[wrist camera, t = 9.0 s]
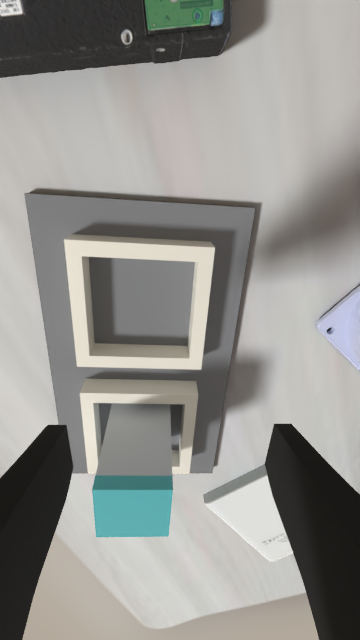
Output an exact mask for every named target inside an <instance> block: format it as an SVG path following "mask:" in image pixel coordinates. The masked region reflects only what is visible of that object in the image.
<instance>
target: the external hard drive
mask: <svg viewBox="0 0 360 640" xmlns="http://www.w3.org/2000/svg"><path fill="white" fill-rule="evenodd" d="M203 497H204V503H205V505H206V506H208V507H209V508H210V509H211V510H212V511H213V512H214V513H215V514H216V515H218V516H219V517H220V518H221V519H222V520H223V521H224V522H226V523H227V524H228V525H229V526H230V527H231V528H232V529H233V530H235V531H236V532H237V533H238V534H239V535H240V536H241V537H242V538H244V539H245V540H246V541H247V542H248V543H249V544H250V545H251V546H253V547H254V548H255V549H256V550H257V551H258V552H259V553H261V554H262V555H263V556H264V557H265V558H266V559H267V560H268V561H270V562H274V561H277V560H279V559H282V558H284V557H286V556H289V555H291V554H293V551H292V548H291V545H290V543H289V540H288V537H287V535H286V532H285V529H284V526H283V524H282V521H281V518H280V515H279V512H278V510H277V507H276V504H275V501H274V498H273V496H272V492H271V488H270V484H269V480H268V476H267V471H266V467H265V465H263V466H260V467H258V468H256V469H254V470H252V471H250V472H248V473H246V474H244V475H242V476H240V477H238V478H236V479H234V480H232V481H230V482H228V483H226V484H224V485H222V486H220V487H218V488H216V489H214V490H212V491H210V492H208V493H206V494H204V495H203Z"/></svg>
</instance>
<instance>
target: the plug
mask: <svg viewBox="0 0 360 640" xmlns="http://www.w3.org/2000/svg"><path fill="white" fill-rule="evenodd" d="M92 492H93V504H94V516H95V528H96V537H153V536H168V534H169V524H170V513H171V503H172V492H173V482H172V448H171V414H170V404H127V403H112V405H111V409H110V414H109V418H108V423H107V427H106V431H105V436H104V440H103V445H102V449H101V454H100V458H99V463H98V467H97V471H96V476H95V480H94V485H93V489H92Z"/></svg>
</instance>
